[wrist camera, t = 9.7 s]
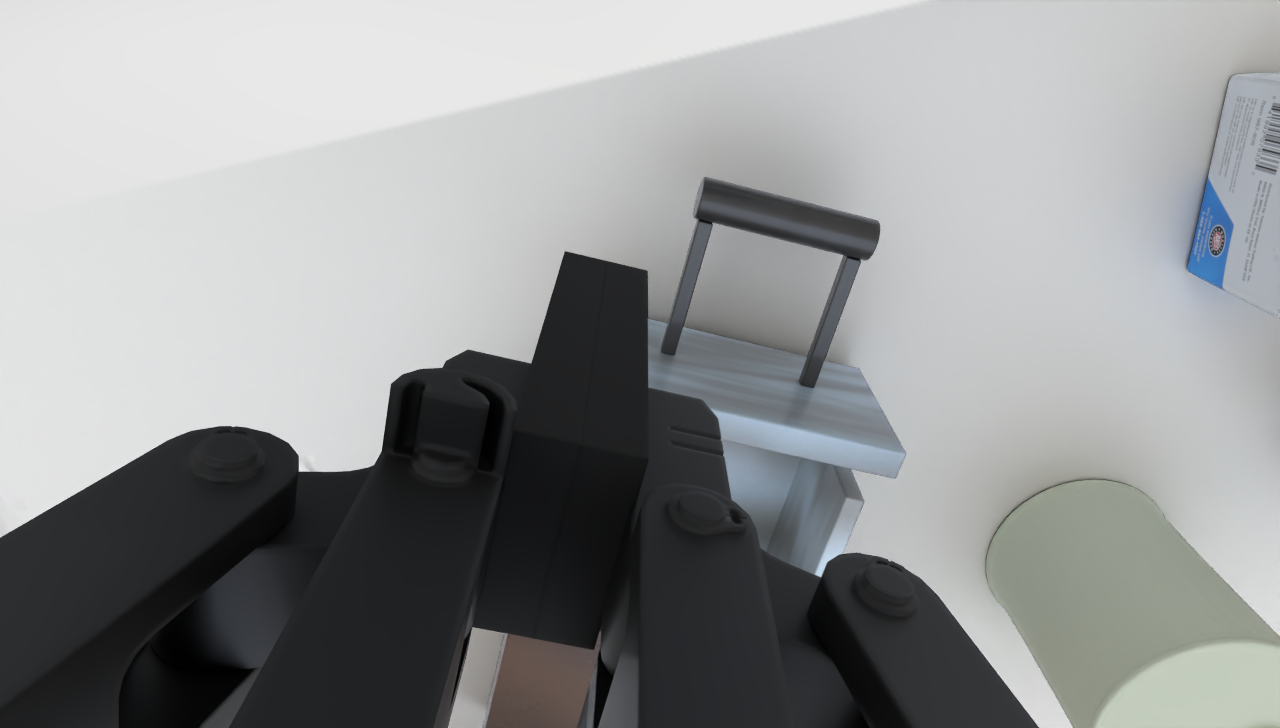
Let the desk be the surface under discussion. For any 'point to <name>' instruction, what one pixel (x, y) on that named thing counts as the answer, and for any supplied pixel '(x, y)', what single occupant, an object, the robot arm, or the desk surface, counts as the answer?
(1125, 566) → the can
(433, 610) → the robot arm
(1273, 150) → the ink box
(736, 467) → the drawer
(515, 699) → the cabinet
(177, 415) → the desk surface
